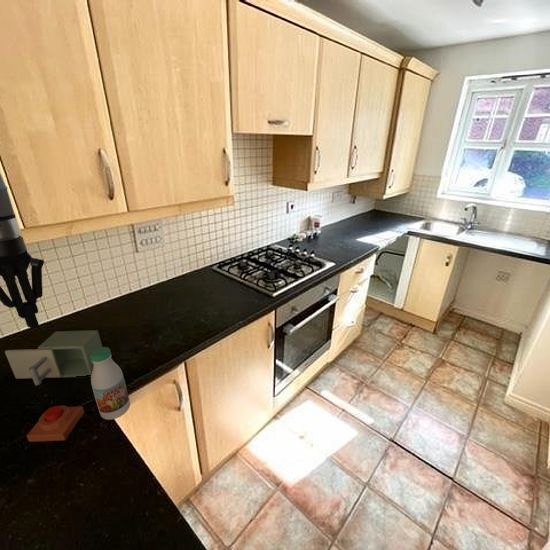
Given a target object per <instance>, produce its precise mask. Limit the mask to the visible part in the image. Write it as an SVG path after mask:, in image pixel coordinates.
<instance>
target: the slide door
mask: <svg viewBox="0 0 550 550" xmlns="http://www.w3.org/2000/svg"><path fill="white" fill-rule="evenodd" d="M4 354H5V357H6V358H7V361H8V363H9V366H10V368H11V370H12V373H13V375H14V378H15V379H16V380H18V379H19V380H20V379H32V382H33V383H34V386H39V385H41V384H42V381H43V380H44V379H51V378H50V377H59V378H62V377H61V376H62V375H61V372H60V369H59V366H58V363H57V360H56V358H55V355H54V352H53V349H38V348H35V349H33V348H31V349H6V350H5V351H4Z"/></svg>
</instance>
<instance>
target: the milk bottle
mask: <svg viewBox="0 0 550 550" xmlns="http://www.w3.org/2000/svg"><path fill="white" fill-rule="evenodd" d="M90 357H91V360H92V363H93V364H94V366H93V371H92V375H91V376H90V383H91V388H92V392H93V395H94V399H95V402H96V406H97V409H98V413H99V415H100V417H101V418H102V419H104V420H109V421H111V420H116V419H119V418H121V417H122V416H123V415H125V414H126V413H127V412H128V410H129V409H130V407H131V401H130V396H129V393H128V389H127V384H126V380H125V377H124V374H123V371H122V369H121V367H120V366H119V365H118V364H117V363H116V362H115V361H114V360H113V358H112V352H111V349H110V348H109V347H108V346H102V347H100V348H97V349H95V350H93V351H92V352H91V354H90Z"/></svg>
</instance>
